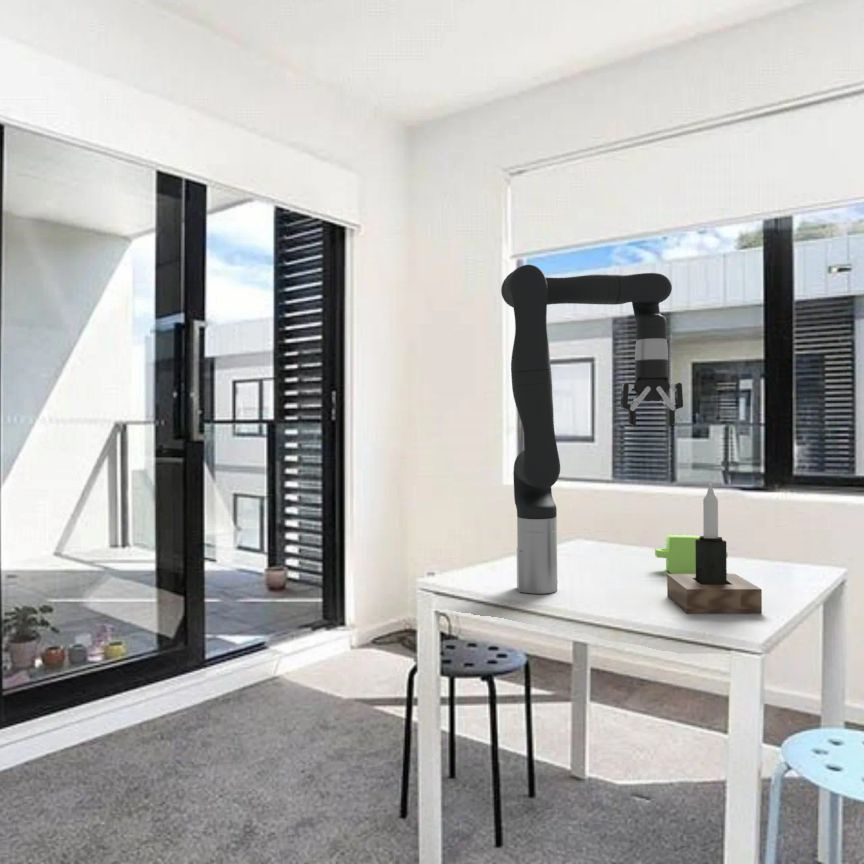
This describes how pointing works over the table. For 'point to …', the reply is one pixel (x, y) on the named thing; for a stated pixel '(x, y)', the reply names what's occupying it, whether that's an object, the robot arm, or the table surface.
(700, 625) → the table surface
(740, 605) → the holder
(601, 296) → the robot arm
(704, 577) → the candle
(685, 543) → the green square pitcher
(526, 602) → the table surface
